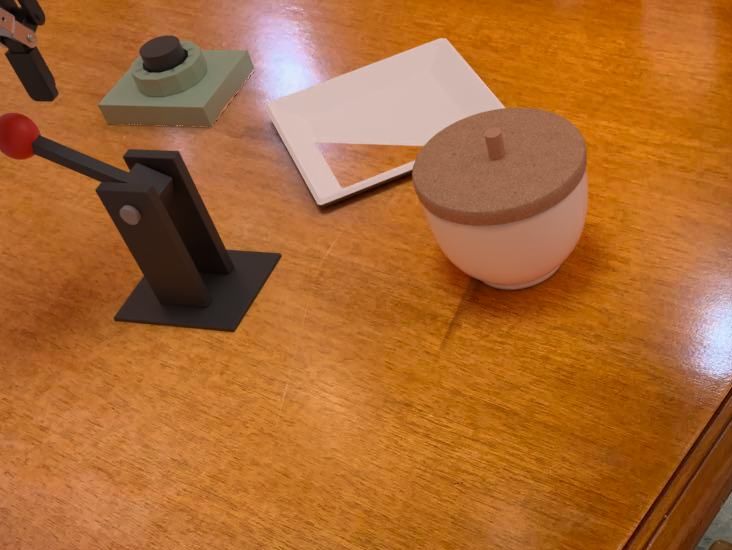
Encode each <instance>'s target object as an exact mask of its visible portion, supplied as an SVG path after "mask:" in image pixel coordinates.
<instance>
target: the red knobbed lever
mask: <svg viewBox="0 0 732 550" xmlns="http://www.w3.org/2000/svg"><path fill="white" fill-rule="evenodd" d="M0 153H2V154H3V155H4V156H6V157H8V158H11V159H13V160H18V161H22V160H29V159H31V158H33V157H34V156H38V157H40V158H43V159H45V160H47V161H50V162H52V163H55V164H56V165H59V166H61V167H64V168H66V169H68V170H71V171H73V172H76V173H78V174H80V175H83V176H86V177H87V178H90V179H92V180H95V181H97V182H100V183H101V182H113V183H133V184H153V186H154V187H155V189H156V191H157V193H158V195H159V197H160V199H161V201H162V203H163V205H164V207H165V209H166V211H167V210H168V208H169V207H170V206H171V204H172V203H173V178H172V177H170V176H167V175H165V174H162V173H160V172H158V171H155V170H153V169H151V168H148V167H146V166H143V165H141V164H139V163H136V164H135V165H134V167H133V168H132V169H131V170H129V171H126V170H124V169H121V168H119V167H116V166H113V165H111V164H109V163H107V162H105V161H103V160H100V159H98V158H96V157H93V156H90V155H88V154H85V153H83V152H80V151H78V150H75V149H74V148H71V147H69V146H67V145H64V144H62V143H59V142H57V141H55V140H52V139H49V138H47V137H45V136H42V134H41V132H40V129H39V127H38V126H37V124H36V123H35V122H34V120H33V119H32V118H30V117H28V116H27V115H24V114H23V113H19V112H7V113H4V114H1V115H0Z"/></svg>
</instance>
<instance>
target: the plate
mask: <svg viewBox="0 0 732 550" xmlns="http://www.w3.org/2000/svg"><path fill="white" fill-rule="evenodd" d="M263 107H264V109H265V111H266V113H267V114H268V117H269V118H270V121H271V122H272V124H273V125H274V127H275V129H276V132H277V133H278V135H279V136H280V137H279V138H281V140H282V142H283V144H284V146H285V147H286V149H287V151H288V153H289V155H290V157H291V159H292V160H293V162H294V164H295V166H296V168H297V170H298V172H299V173H300V175H301V177H302V178H303V180H304V182H305V184H306V186H307V188H308V189H309V191H310V194H311V195H312V197H313V199H314V200H315V203H316V204H317V205H318V206H320V207H324V208H325V207H328V206H331V205H333V204H336V203H338V202H341V201H343V200H346V199H349V198H351V197H353V196H356V195H359V194H362V193H364V192H367V191H369V190H371V189H374V188H376V187H379V186H382V185H384V184H387V183H389V182H392V181H394V180H398V179H399V178H402V177H405V176H407V175H410V174H412V170H413V165H414V163H415V160H416V159H415V160H412V161H410V162H407V163H405V164H401V165H399V166H397V167H393V168H392V169H389V170H386V171H384V172H381V173H379V174H376V175H373V176H371V177H369V178H366V179H363V180H361V181H358V182H356V183H353V184H350V185H348V186H346V187H344V186H343V187H342V186H341V185H340V183H339V181H338V179H337V177H336V176H335V174H334V172H333V171H332V169H331V167H330V165H329V164H328V162H327V161H326V159H325V156H324V155H323V154H322V152H321V150H320V148H319V147H318V145H317V144H318V143H321V144H346V145H347V144H348V145H349V144H350V145H351V144H352V145H353V144H354V145H381V146H409V147H410V146H411V147H423V146H424V145H425V144H426V143H427V142H428V141H429V140H430V139H431V138H432V137H433V136H435V135H436V134H437V133H438V132H440V131H441V130H443V129H444V128H446V127H448V126H450V125H451V124H453V123H455V122H457V121H459V120H462V119H464V118H467V117H469V116H472V115H475V114H478V113H482V112H486V111H491V110H496V109H503V108H506V106H505V105H504V104H503V103H502V102H501V101H500V99H499V98H498V97H497V96H496V94H495V93H494V92H493V91H492V90H491V89H490V88H489V86H488V85H487V84H486V83H485V82H484V80H483V79H481V77H480V76H479V74H477V73H476V71H475V70H474V69H473V68H472V67H471V65H470V64H469V63H468V62H467V61H466V60H465V58H464V57H463V56H462V55H461V54H460V53H459V51H458V50H457V49H456V48H455V47H454V45H452V42H450V41H449V39H447V38H446V37H439V38H437V39H434V40H431V41H429V42H425V43H422V44H421V45H418V46H416V47H412V48H411V49H407V50H405V51H402V52H399V53H396V54H394V55H391V56H388V57H386V58H383V59H381V60H378V61H375V62H373V63H370V64H368V65H364V66H362V67H359V68H357V69H354V70H351V71H348V72H346V73H343V74H340V75H338V76H335V77H332V78H330V79H327V80H324V81H322V82H319V83H317V84H314V85H311V86H308V87H305V88H303V89H301V90H298V91H296V92H292V93H290V94H288V95H285V96H282V97H279V98H277V99H274V100H271V101H269V102H267V103H266V104H265V105H264V106H263ZM316 143H317V144H316Z"/></svg>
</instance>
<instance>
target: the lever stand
mask: <svg viewBox="0 0 732 550" xmlns="http://www.w3.org/2000/svg"><path fill="white" fill-rule="evenodd" d="M122 159H123V161H124V162H125V165H126V167H127V168H128V170H129V171H130V170H131V169H132V168H133V167H134V165H135V164H136V163H139V164H141V165H143V166H146V167H148V168H151V169H153V170H155V171H158V172H160V173H162V174H165V175H167V176H170V177H172V178H173V203H172V204H171V206H170V207H169V208H168V210H167V211H166V209H165V207H164V205H163V203H162V201H161V199H160V197H159V195H158V193H157V191H156V189H155V187H154V186H153V184H133V183H113V182H100V183H99V185H98V186H97V187H96V188H95V189H94V190H95V191H94V192H95V193H96V195H97V196H98V199H99V200H100V202H101V204H102V205H103V207H104V208H105V210H106V212H107V214H108V216H109V218H110V219H111V221H112V223H113V224H114V227H116V229H117V231H118V233H119V235H120V236H121V238H122V239H123V242H124V244H125V245H126V247H127V248H128V249H127V250H128V251H129V252H130V254H131V256H132V257H133V259H134V261H135V263H136V264H137V266H138V268H139V270H140V271H141V274H142V275H143V276H142V278H141V279H140V280H139V281H138V283H137V284H136V286H135V287H134V289H133V290H132V291H131V292H130V294H129V296H128V297H127V298H126V300H125V301H124V302H123V304H122V305H121V307H120V308H119V309H118V311H117V312H116V313H115V315H114V316H113V320H114V321H115V322H123V323H134V324H143V325H153V326H154V325H155V326H163V327H164V326H165V327H175V328H185V329H187V328H188V329H196V330H208V331H217V332H218V331H219V332H228V333H235V332H236V330H238V327H240V324H241V322H242V321H243V319H244V318H245V316H246V315H247V313H248V311H249V310H250V308H251V306H252V305H253V303H254V301H255V300H256V298H257V297H258V295H259V294H260V292H261V291H262V289H263V287H264V286H265V284H266V282H267V281H268V280H269V278H270V276H271V275H272V273H273V271H274V270H275V268H276V266H277V265H278V263H279V262H280V260H281V259H282V253H281V252H271V251H269V252H268V251H266V252H265V251H253V250H252V251H251V250H238V249H227V248H226V246H225V244H224V241H223V240H222V238H221V236H220V234H219V232H218V230H217V227H216V225H215V223H214V221H213V219H212V217H211V215H210V213H209V211H208V209H207V207H206V204H205V202H204V200H203V198H202V196H201V193H200V192H199V190H198V188H197V186H196V184H195V181H194V180H193V177H192V175H191V173H190V171H189V168H188V166H187V165H186V162H185V160H184V159H183V156H182V154H181V153H180V151H179V150H168V149H167V150H165V149H164V150H163V149H162V150H161V149H139V148H136V149H135V148H129V149H127V151H125V153H124V154H123V155H122Z"/></svg>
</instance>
